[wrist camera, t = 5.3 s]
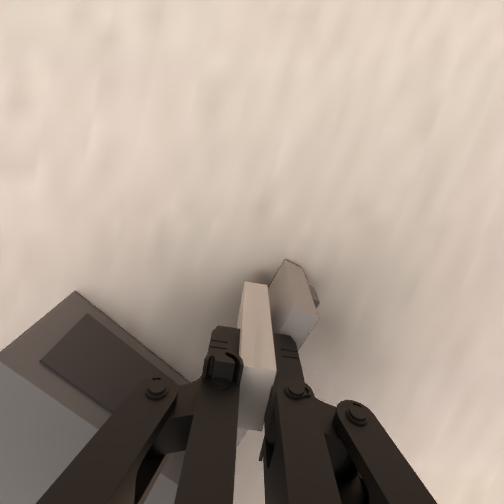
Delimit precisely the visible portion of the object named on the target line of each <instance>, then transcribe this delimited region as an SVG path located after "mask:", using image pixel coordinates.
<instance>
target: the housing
mask: <svg viewBox="0 0 504 504" xmlns="http://www.w3.org/2000/svg"><path fill="white" fill-rule="evenodd" d="M156 375H162V376H167V377H169V378H171V379H173V380H174V381H175V382H176V384H177V385H185V384H189V382H188V381H187V380H185V379H184V378H183V377H182V376H180V375H179V374H178V373H177V372H175V371H174V370H173V369H172V368H170V367H169V366H168V365H167V364H165V363H164V362H163V361H162V360H160V359H159V358H158V357H157V356H155V355H154V354H153V353H152V352H150V351H149V350H148V349H147V348H145V347H144V346H143V345H142V344H140V343H139V342H138V341H137V340H136V339H134V338H133V337H132V336H131V335H129V334H128V333H127V332H126V331H124V330H123V329H122V328H121V327H119V326H118V325H117V324H116V323H114V322H113V321H112V320H111V319H109V318H108V317H107V316H106V315H104V314H103V313H102V312H101V311H99V310H98V309H97V308H96V307H94V306H93V305H92V304H91V303H89V302H88V301H87V300H86V299H84V298H83V297H82V296H81V295H79V294H78V293H77V292H76V291H74V292H73V293H72V294H70V295H69V296H68V297H67V298H66V299H64V300H63V301H62V302H61V303H59V304H58V305H57V306H56V307H55V308H53V309H52V310H51V311H50V312H48V313H47V314H46V315H45V316H44V317H42V318H41V319H40V320H39V321H37V322H36V323H35V324H34V325H33V326H31V327H30V328H29V329H28V330H26V331H25V332H24V333H23V334H22V335H20V336H19V337H18V338H17V339H15V340H14V341H13V342H12V343H11V344H9V345H8V346H7V347H6V348H5V349H3V350H2V351H1V352H0V504H36V503H37V501H38V500H39V499H40V498H41V497H42V496H43V494H44V493H45V492H46V491H47V490H48V489H49V487H50V486H51V485H52V484H53V483H54V482H55V480H56V479H57V478H58V477H59V476H60V475H61V473H62V472H63V471H64V470H65V469H66V468H67V466H68V465H69V464H70V463H71V462H72V460H73V459H74V458H75V457H76V456H77V455H78V453H79V452H80V451H81V450H82V449H83V448H84V446H85V445H86V444H87V443H88V442H89V441H90V439H91V438H92V437H93V436H94V435H95V434H96V432H97V431H98V430H99V429H100V428H101V427H102V425H103V424H104V423H105V422H106V421H107V420H108V418H109V417H110V416H111V415H112V414H113V413H114V411H115V410H116V409H117V408H118V407H119V406H120V404H121V403H122V402H123V401H124V400H125V398H126V397H127V396H128V395H129V394H130V393H131V391H132V390H133V389H134V388H135V387H136V386H137V384H138V383H140V382H141V381H142V380H143V379H145V378H148V377H150V376H156ZM185 452H186V450H185V451H180V452H175V453H170V456H169V458H168V460H167V462H166V463H165V465H164V467H163V469H162V471H161V473H160V474H159V476H158V478H157V480H156V482H155V484H154V485H153V487H152V489H151V491H150V493H149V495H148V496H147V498H146V500H145V502H144V504H174V501H175V497H176V492H177V488H178V483H179V479H180V474H181V470H182V465H183V461H184V456H185Z"/></svg>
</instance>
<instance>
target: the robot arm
mask: <svg viewBox="0 0 504 504" xmlns="http://www.w3.org/2000/svg"><path fill="white" fill-rule="evenodd" d="M264 424H265V436H264V440H263V444H262V448H261V452H260V457H259V461H262V459H263V463H264V485H265V504H437V503H436V501H435V500H434V498H433V497H432V495H431V494H430V493H429V491H428V490H427V488H426V487H425V486H424V484H423V483H422V481H421V480H420V479H419V477H418V476H417V474H416V473H415V472H414V470H413V469H412V467H411V466H410V465H409V463H408V462H407V460H406V459H405V458H404V456H403V455H402V453H401V452H400V451H399V449H398V448H397V446H396V445H395V444H394V442H393V441H392V439H391V438H390V437H389V435H388V434H387V432H386V431H385V429H384V428H383V427H382V425H381V424H380V422H379V421H378V420H377V418H376V417H375V415H374V414H373V413H372V412H371V411H370V410H369V409H368V408H367V407H365V406H364V405H362V404H361V403H358V402H356V401H352V400H344V401H341V402H340V403H339V404H338V405H337V407H334V406H332V405H329V404H327V403H324V402H322V401H320V400H318V399H317V398H315V396H314V393H313V391H312V389H311V388H310V387H309V386H308V385H307V384H306V383H305V381H304V377H303V372H302V368H301V363H300V360H299V354H298V349H297V345H296V342H295V341H294V340H293V339H292V337H291V336H290V335H283V334H277V333H272V324H271V314H270V305H269V296H268V287H267V285H265V284H259V283H252V282H246V281H245V282H244V288H243V293H242V299H241V304H240V310H239V315H238V321H237V328H231V327H224V326H217V327H216V328H215V329H214V330H213V331H212V335H211V340H210V344H209V349H208V354H207V356H206V357H205V359H204V366H203V373H202V376H201V377H200V378H199V379H198V380H196V381H194V382H192V383H189V384H185V385H177V384H176V382H175V381H174V380H173V379H171V378H169V377H167V376H162V375H156V376H150V377H148V378H145V379H143V380H142V381H141V382H140V383H138V384H137V386H136V387H135V388H134V389H133V390H132V391H131V393H130V394H129V395H128V396H127V397H126V398H125V400H124V401H123V402H122V403H121V404H120V406H119V407H118V408H117V409H116V410H115V411H114V413H113V414H112V415H111V416H110V417H109V418H108V420H107V421H106V422H105V423H104V424H103V425H102V427H101V428H100V429H99V430H98V431H97V432H96V434H95V435H94V436H93V437H92V438H91V439H90V441H89V442H88V443H87V444H86V445H85V446H84V448H83V449H82V450H81V451H80V452H79V453H78V455H77V456H76V457H75V458H74V459H73V460H72V462H71V463H70V464H69V465H68V466H67V468H66V469H65V470H64V471H63V472H62V473H61V475H60V476H59V477H58V478H57V479H56V480H55V482H54V483H53V484H52V485H51V486H50V487H49V489H48V490H47V491H46V492H45V493H44V494H43V496H42V497H41V498H40V499H39V500H38V501H37V503H36V504H144V502H145V500H146V498H147V496H148V495H149V493H150V491H151V489H152V487H153V485H154V484H155V482H156V480H157V478H158V476H159V474H160V473H161V471H162V469H163V467H164V465H165V463H166V462H167V460H168V458H169V456H170V453H175V452H180V451H185V450H186V452H185V456H184V461H183V465H182V470H181V474H180V479H179V483H178V488H177V492H176V497H175V501H174V504H233V491H234V475H235V459H236V443H237V428H241V429H249V430H257V431H262V429H263V425H264Z"/></svg>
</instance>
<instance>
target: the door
mask: <svg viewBox="0 0 504 504" xmlns="http://www.w3.org/2000/svg"><path fill="white" fill-rule="evenodd" d="M268 296H269V305H270V314H271V324H272V333H277V334H283V335H290V336H291V337H292V339H293V340H294V341H295V342H296V345H297V349H298V350H299V349H300V347H301V346H302V344H303V342H304V341H305V339H306V338H307V336H308V335H309V333H310V332H311V330H312V328H313V327H314V325H315V324H316V322H317V321H318V319H319V317H318V314H317V311H316V307H317V306H318V304H319V303H320V301H319V299H318V296H317V293H316V290H315V288H314V287H312V286H310V285H308V283H307V280H306V277H305V274H304V271H303V268H301V267H299V266H297V265H295V264H293V263H291V262H288V261H286V260H284V261H283V263H282V265H281V267H280V269H279V270H278V272H277V274H276V276H275V278H274V279H273V281H272V283H271V285H270V286H269V288H268ZM247 430H248V429H241V428H237V443H236V447H237V445H238V444H239V442H240V440H241V439H242V437H243V436H244V434H245V433H246V431H247Z"/></svg>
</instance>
